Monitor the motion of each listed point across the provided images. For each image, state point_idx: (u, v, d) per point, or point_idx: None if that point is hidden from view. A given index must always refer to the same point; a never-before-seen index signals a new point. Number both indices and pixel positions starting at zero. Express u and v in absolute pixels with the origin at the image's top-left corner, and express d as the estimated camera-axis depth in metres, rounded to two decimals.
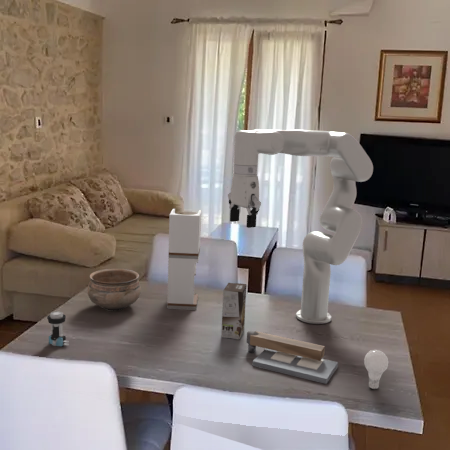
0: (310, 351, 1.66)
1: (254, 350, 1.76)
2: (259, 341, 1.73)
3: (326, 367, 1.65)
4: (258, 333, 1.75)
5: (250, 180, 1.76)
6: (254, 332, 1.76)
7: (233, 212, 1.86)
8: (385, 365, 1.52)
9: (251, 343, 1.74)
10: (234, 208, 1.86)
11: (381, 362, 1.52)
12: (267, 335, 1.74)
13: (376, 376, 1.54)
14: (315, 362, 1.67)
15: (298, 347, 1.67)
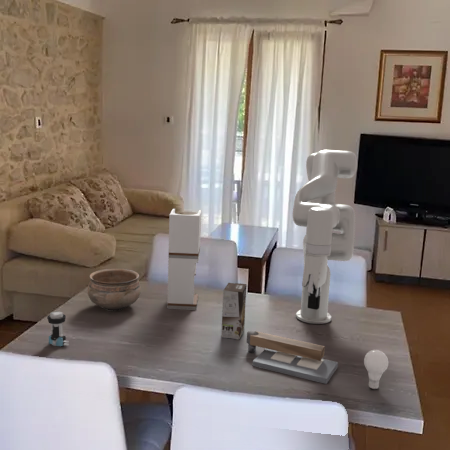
0: (310, 351, 1.66)
1: (254, 350, 1.76)
2: (259, 341, 1.73)
3: (326, 367, 1.65)
4: (258, 333, 1.75)
5: None
6: (254, 332, 1.76)
7: None
8: (385, 365, 1.52)
9: (251, 343, 1.74)
10: None
11: (381, 362, 1.52)
12: (267, 335, 1.74)
13: (376, 376, 1.54)
14: (315, 362, 1.67)
15: (298, 347, 1.67)
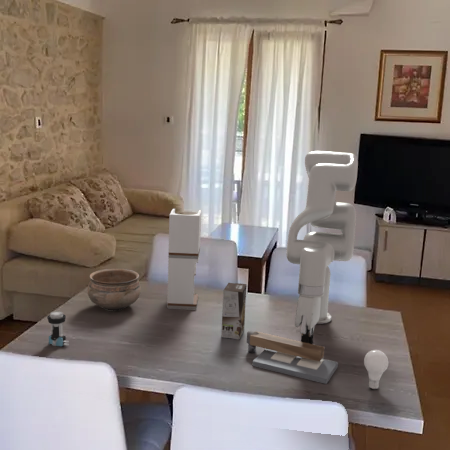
0: (309, 351, 1.66)
1: (254, 350, 1.76)
2: (259, 341, 1.73)
3: (326, 367, 1.65)
4: (258, 333, 1.75)
5: None
6: (254, 332, 1.76)
7: None
8: (385, 365, 1.52)
9: (251, 343, 1.74)
10: None
11: (381, 362, 1.52)
12: (267, 335, 1.74)
13: (376, 376, 1.54)
14: (315, 362, 1.67)
15: (297, 347, 1.67)
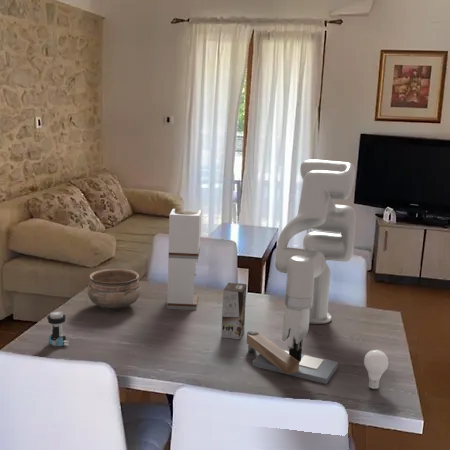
0: (280, 361, 1.58)
1: (254, 350, 1.76)
2: (252, 342, 1.72)
3: (326, 367, 1.65)
4: (257, 334, 1.74)
5: None
6: (255, 333, 1.76)
7: None
8: (385, 365, 1.52)
9: (247, 342, 1.75)
10: None
11: (381, 362, 1.52)
12: (262, 338, 1.72)
13: (376, 376, 1.54)
14: (315, 362, 1.67)
15: (273, 355, 1.61)
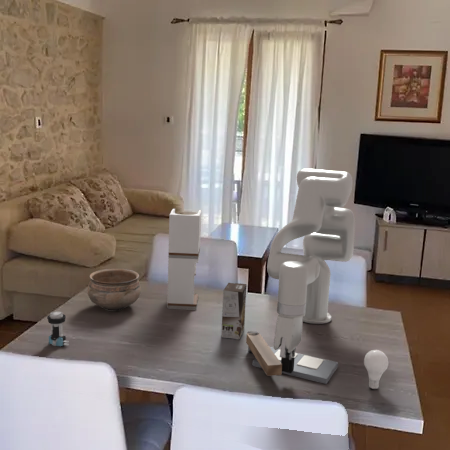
0: (264, 362, 1.57)
1: None
2: (249, 341, 1.72)
3: (326, 367, 1.65)
4: (256, 335, 1.74)
5: None
6: (255, 333, 1.75)
7: None
8: (385, 365, 1.52)
9: (246, 341, 1.75)
10: None
11: (381, 362, 1.52)
12: (259, 338, 1.71)
13: (376, 376, 1.54)
14: (315, 362, 1.67)
15: (260, 356, 1.61)
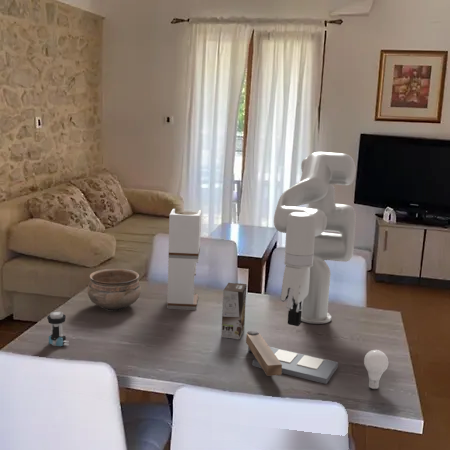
0: (264, 362, 1.57)
1: None
2: (249, 341, 1.72)
3: (326, 367, 1.65)
4: (256, 335, 1.74)
5: None
6: (255, 333, 1.75)
7: None
8: (385, 365, 1.52)
9: (246, 341, 1.75)
10: None
11: (381, 362, 1.52)
12: (259, 338, 1.71)
13: (376, 376, 1.54)
14: (315, 362, 1.67)
15: (260, 356, 1.61)
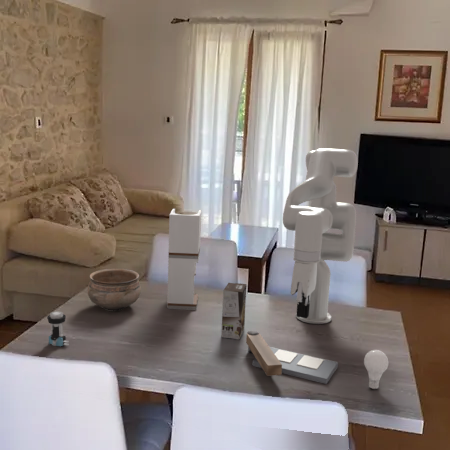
0: (264, 362, 1.57)
1: None
2: (249, 341, 1.72)
3: (326, 367, 1.65)
4: (256, 335, 1.74)
5: None
6: (255, 333, 1.75)
7: None
8: (385, 365, 1.52)
9: (246, 341, 1.75)
10: None
11: (381, 362, 1.52)
12: (259, 338, 1.71)
13: (376, 376, 1.54)
14: (315, 362, 1.67)
15: (260, 356, 1.61)
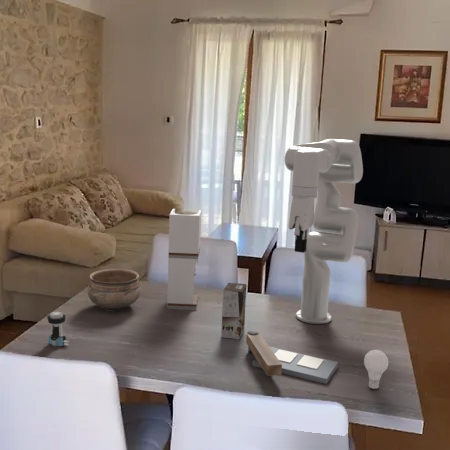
0: (264, 362, 1.57)
1: None
2: (249, 341, 1.72)
3: (326, 367, 1.65)
4: (256, 335, 1.74)
5: None
6: (255, 333, 1.75)
7: None
8: (385, 365, 1.52)
9: (246, 341, 1.75)
10: None
11: (381, 362, 1.52)
12: (259, 338, 1.71)
13: (376, 376, 1.54)
14: (315, 362, 1.67)
15: (260, 356, 1.61)
